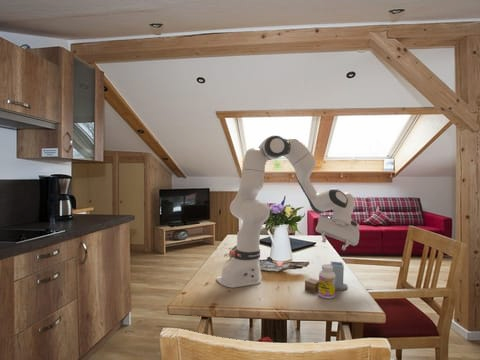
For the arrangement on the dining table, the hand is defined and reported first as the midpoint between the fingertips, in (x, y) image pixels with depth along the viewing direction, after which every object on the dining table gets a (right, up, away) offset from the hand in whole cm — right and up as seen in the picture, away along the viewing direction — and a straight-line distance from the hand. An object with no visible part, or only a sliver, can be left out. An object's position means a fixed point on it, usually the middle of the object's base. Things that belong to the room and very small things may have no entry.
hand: (333, 245), depth 142 cm
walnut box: (-11, -18, -7) cm, 23 cm away
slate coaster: (0, -18, -2) cm, 19 cm away
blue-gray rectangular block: (+1, -18, -2) cm, 18 cm away
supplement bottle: (-7, -19, -13) cm, 24 cm away
